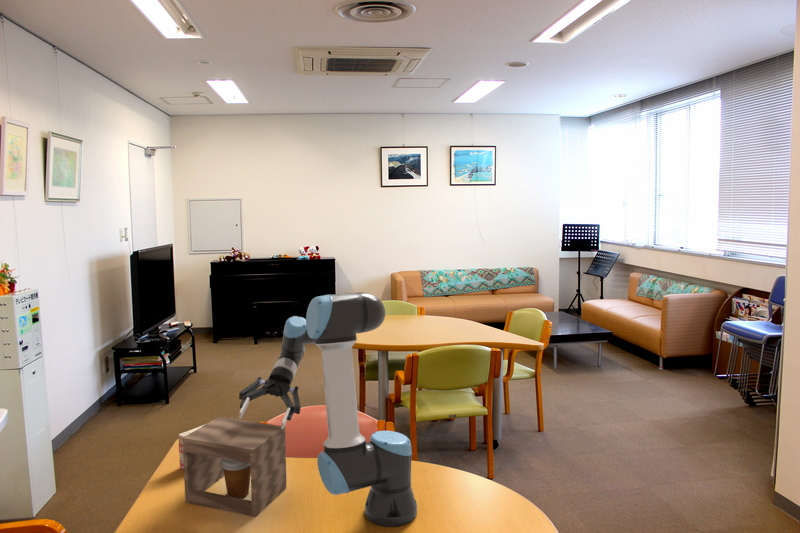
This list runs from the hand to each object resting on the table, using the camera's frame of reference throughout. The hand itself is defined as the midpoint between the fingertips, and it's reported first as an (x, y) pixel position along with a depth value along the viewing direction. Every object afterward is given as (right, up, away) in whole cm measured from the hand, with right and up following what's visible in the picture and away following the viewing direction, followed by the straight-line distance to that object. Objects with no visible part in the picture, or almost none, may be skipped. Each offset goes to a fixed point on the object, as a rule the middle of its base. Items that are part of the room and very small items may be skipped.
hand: (261, 420), depth 165 cm
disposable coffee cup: (-8, -24, +4) cm, 25 cm away
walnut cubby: (-8, -24, +4) cm, 25 cm away
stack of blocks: (-24, -21, +27) cm, 42 cm away
